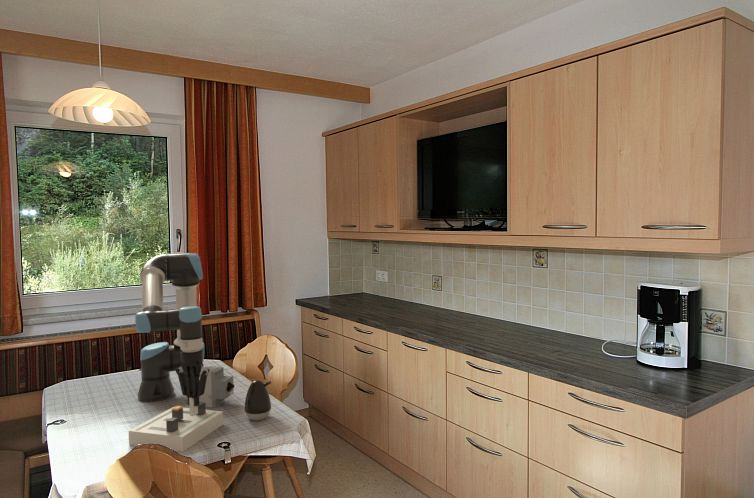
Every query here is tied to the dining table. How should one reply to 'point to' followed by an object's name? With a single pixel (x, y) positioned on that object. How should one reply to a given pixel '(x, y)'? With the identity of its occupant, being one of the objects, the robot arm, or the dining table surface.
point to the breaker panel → (181, 426)
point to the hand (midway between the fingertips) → (194, 414)
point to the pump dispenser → (257, 401)
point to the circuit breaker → (216, 387)
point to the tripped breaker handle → (177, 412)
